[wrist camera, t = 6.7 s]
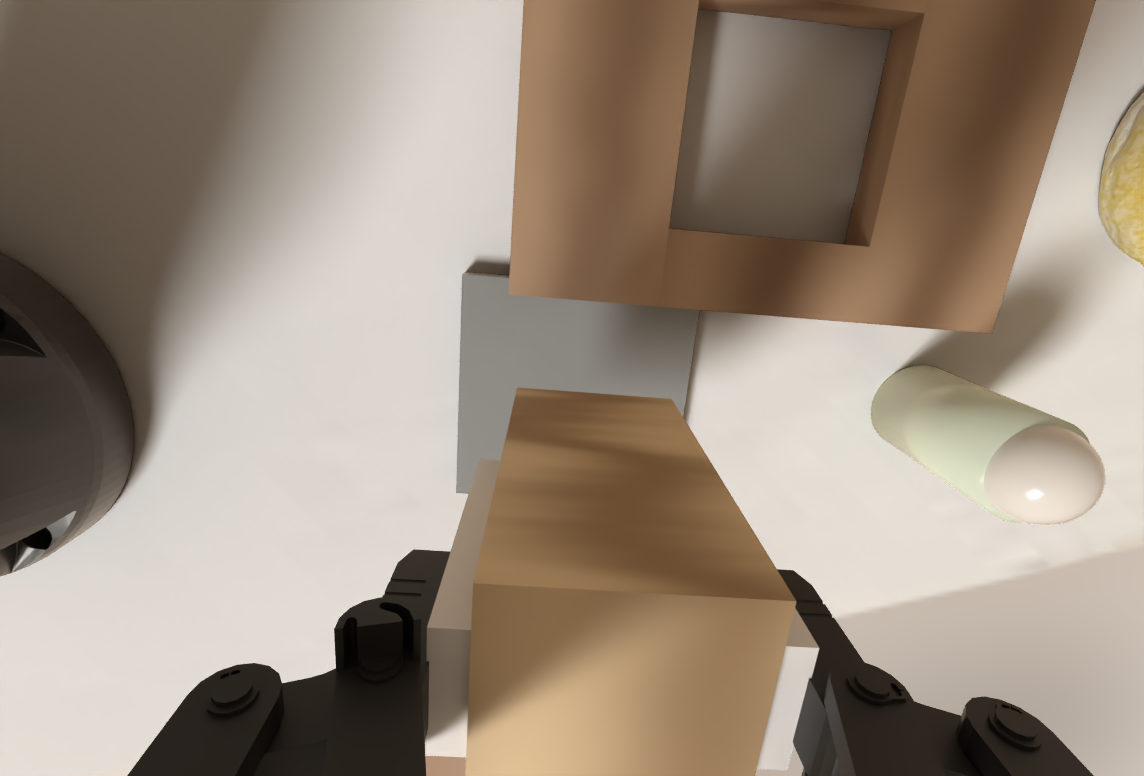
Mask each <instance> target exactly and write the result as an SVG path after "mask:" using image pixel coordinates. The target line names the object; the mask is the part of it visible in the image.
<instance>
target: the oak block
mask: <svg viewBox="0 0 1144 776" xmlns="http://www.w3.org/2000/svg"><path fill="white" fill-rule="evenodd" d="M796 602H797V601H796V600H795V598H794V596H793V595H792V593H791V592H790V590H789V588H788V587H787V585H786V583H785V582H784V580H783V579H782V577H781V575H780V574H779V572H778V571H777V569H776V567H775V566H774V564H773V562H772V561H771V559H770V558H769V556H768V554H767V553H766V551H765V549H764V548H763V546H762V545H761V543H760V541H759V540H758V538H757V536H756V535H755V533H754V532H753V530H752V528H751V527H750V525H749V524H748V522H747V520H746V519H745V517H744V515H743V514H742V512H741V511H740V509H739V507H738V506H737V504H736V502H735V501H734V499H733V498H732V496H731V494H730V493H729V491H728V489H727V488H726V486H725V485H724V483H723V481H722V480H721V478H720V477H719V475H718V473H717V472H716V470H715V468H714V467H713V465H712V464H711V462H710V460H709V459H708V457H707V455H706V454H705V452H704V451H703V449H702V447H701V446H700V444H699V443H698V441H697V439H696V438H695V436H694V434H693V433H692V431H691V430H690V428H689V426H688V425H687V423H686V421H685V420H684V418H683V417H682V415H681V413H680V412H679V410H678V408H677V407H676V405H675V404H674V402H673V400H672V399H667V398H653V397H640V396H626V395H613V394H599V393H586V392H572V391H558V390H545V389H531V388H518V387H517V390H516V395H515V399H514V403H513V408H512V412H511V417H510V421H509V426H508V430H507V434H506V439H505V443H504V448H503V452H502V457H501V461H500V466H499V470H498V474H497V479H496V483H495V488H494V492H493V497H492V501H491V506H490V510H489V514H488V519H487V523H486V528H485V532H484V537H483V541H482V546H481V550H480V554H479V559H478V563H477V568H476V572H475V577H474V581H473V596H472V621H471V646H470V671H469V696H468V721H467V746H466V772H465V776H755V773H756V769H757V764H758V760H759V756H760V752H761V748H762V744H763V739H764V735H765V731H766V727H767V723H768V718H769V714H770V710H771V706H772V702H773V698H774V693H775V689H776V685H777V681H778V677H779V673H780V668H781V664H782V660H783V656H784V652H785V647H786V643H787V639H788V635H789V631H790V627H791V622H792V618H793V614H794V610H795V606H796Z"/></svg>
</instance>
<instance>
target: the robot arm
mask: <svg viewBox="0 0 1144 776" xmlns="http://www.w3.org/2000/svg"><path fill="white" fill-rule="evenodd" d="M133 446H134V428H133V419H132V413H131V408H130V403H129V400H128V396H127V392H126V390H125V387H124V384H123V381H122V379H121V376H120V374H119V372H118V370H117V367H116V365H115V364H114V362H113V360H112V358H111V356H110V354H109V353H108V351H107V349H106V348H105V346H104V344H103V343H102V341H101V340H100V339H99V337H98V336H97V334H96V333H95V331H94V330H93V329H92V328H91V326H90V325H89V324H88V323H87V321H86V320H85V319H84V318H83V317H82V316H81V314H80V313H79V312H78V311H77V310H76V309H75V308H74V307H73V306H72V305H71V304H70V303H69V302H68V301H67V300H66V299H65V298H64V297H63V296H62V295H61V294H59V293H58V292H57V291H56V290H55V289H54V288H53V287H51V286H50V285H49V284H48V283H46V282H45V281H44V280H42V279H41V278H40V277H39V276H37V275H36V274H34V273H33V272H31V271H30V270H28V269H27V268H26V267H24V266H22V265H21V264H19V263H17V262H16V261H14V260H12V259H11V258H9V257H7V256H5V255H3V254H1V253H0V576H3V575H6V574H10V573H13V572H16V571H18V570H20V569H23V568H25V567H28V566H30V565H32V564H34V563H36V562H38V561H40V560H42V559H43V558H45V557H47V556H49V555H50V554H52V553H53V552H55V551H56V550H58V549H59V548H61V547H62V546H64V545H65V544H67V543H68V542H70V541H71V540H73V539H74V538H76V537H77V536H78V535H80V534H81V533H83V532H84V531H86V530H87V529H89V528H90V527H91V526H92V525H94V524H95V523H96V522H97V521H98V520H99V519H100V518H102V517H103V516H104V515H105V513H106V512H107V511H108V510H109V509H110V508H111V506H112V505H113V504H114V502H115V501H116V499H117V498H118V496H119V494H120V492H121V491H122V488H123V486H124V484H125V482H126V479H127V476H128V473H129V470H130V466H131V462H132V455H133ZM499 466H500V461H499V460H485V459H479V462H478V466H477V469H476V472H475V475H474V478H473V482H472V485H471V488H470V491H469V494H468V498H467V501H466V504H465V507H464V510H463V514H462V517H461V520H460V523H459V526H458V530H457V533H456V536H455V539H454V542H453V546H452V549H451V552H447V551H430V550H412V551H411V552H410V553H409V554H408V555H407V556H405V557H404V558H403V559H402V560H401V561H399V562H398V564H397V566H396V568H395V571H394V573H393V575H392V577H391V581H390V582H389V584H388V586H387V588H386V590H385V595H383V597H382V598H376V599H372V600H367V601H364V602H362V603H360V604H358V605H356V606H353V607H351V608H350V609H349V610H348V611H346V612H345V613H344V614H343V615H342V616H341V617H340V618H339V620H338V622H337V624H336V627H335V629H334V633H335V655H336V669H334V670H332V671H329V672H327V673H325V674H322V675H318V676H315V677H311V678H307V679H302V680H297V681H292V682H287V683H282V682H281V679H280V676H279V673H278V672H276V671H275V670H274V669H272V668H271V667H270V666H266V665H261V664H256V663H251V664H241V665H235V666H232V667H229V668H227V669H224V670H221V671H218V672H216V673H215V674H213V675H211V676H210V677H208V678H206V679H205V680H203V681H201V682H200V683H199V684H198V685H197V686H196V687H195V688H194V689H193V690H192V691H191V692H190V693H189V694H188V695H187V696H186V698H185V699H184V700H183V702H182V703H181V704H180V706H179V707H178V708H177V710H176V711H175V713H174V714H173V715H172V717H171V718H170V719H169V721H168V722H167V723H166V725H165V726H164V727H163V729H162V730H161V731H160V733H159V734H158V735H157V737H156V738H155V739H154V741H153V742H152V743H151V745H150V746H149V747H148V749H147V750H146V751H145V753H144V754H143V755H142V757H141V758H140V759H139V761H138V762H137V763H136V765H135V766H134V768H133V769H132V770H131V772H130V773H129V774H128V776H426V763H425V756H450V757H451V756H452V757H466V746H467V721H468V696H469V671H470V646H471V621H472V596H473V581H474V577H475V572H476V568H477V563H478V559H479V554H480V550H481V546H482V541H483V537H484V532H485V528H486V523H487V519H488V514H489V510H490V506H491V501H492V497H493V492H494V488H495V483H496V479H497V474H498V470H499ZM777 571H778V572H779V574H780V575H781V577H782V579H783V580H784V582H785V583H786V585H787V587H788V588H789V590H790V592H791V593H792V595H793V596H794V598H795V600H796V601H797V602H796V606H795V610H794V614H793V618H792V622H791V627H790V631H789V635H788V639H787V643H786V647H785V652H784V656H783V660H782V664H781V668H780V673H779V677H778V681H777V685H776V689H775V693H774V698H773V702H772V706H771V710H770V714H769V718H768V723H767V727H766V731H765V735H764V739H763V744H762V748H761V752H760V756H759V760H758V764H757V769H765V770H766V769H767V770H788V766H789V762H790V759H791V755H792V751H793V747H794V746H795V748H796V751H797V753H798V755H799V757H800V760H801V762H802V764H803V766H804V769H803V772H802V776H1093V775H1092V773H1090V771H1089V770H1088V769H1087V768H1086V767H1085V766H1084V765H1083V764H1082V763H1081V762H1080V761H1079V760H1078V759H1077V757H1076V756H1074V754H1073V753H1072V752H1071V751H1070V750H1069V749H1068V748H1067V747H1066V746H1065V745H1064V744H1063V743H1062V741H1060V739H1059V738H1058V737H1057V736H1056V735H1055V734H1054V733H1053V732H1052V731H1051V730H1050V729H1048V728H1047V727H1046V726H1045V725H1044V724H1043V723H1042V722H1040V721H1039V720H1038V719H1037V718H1035V717H1034V716H1032V715H1030V714H1029V713H1027V712H1026V711H1024V710H1022V709H1021V708H1019V707H1017V706H1015V705H1012V704H1010V703H1007V702H1005V701H1002V700H999V699H994V698H989V697H977V698H972V699H971V700H970V701H969V702H968V703H967V704H966V705H965V708H964V710H963V713H962V716H960V715H956V714H953V713H949V712H946V711H943V710H939V709H936V708H932V707H929V706H926V705H922V704H920V703H917V702H914V701H913V699H912V697H911V696H910V694H909V693H908V691H907V690H906V688H905V687H904V686H903V685H902V684H901V683H900V682H899V681H897V680H896V679H895V678H894V677H893V676H892V675H890V674H888V673H887V672H885V671H883V670H881V669H880V668H878V667H875V666H873V665H870V664H867V663H864V661H863V660H862V658H861V657H860V655H859V654H858V652H857V651H856V649H855V648H854V646H853V645H852V644H851V642H850V641H849V639H848V638H847V636H846V635H845V634H844V632H843V630H842V629H841V627H840V626H839V625H838V623H837V622H836V620H835V619H834V618H832V614H831V613H830V611H829V610H828V608H827V607H826V605H825V604H823V601H822V600H821V598H820V597H819V595H818V594H817V592H816V591H815V589H814V588H813V586H812V585H811V584H810V583H808V582H807V581H806V580H805V579H803V578H802V577H801V576H800V575H798V574H797V573H796V572H795V571H793V570H777ZM425 739H426V748H425Z"/></svg>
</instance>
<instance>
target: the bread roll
mask: <svg viewBox="0 0 1144 776" xmlns="http://www.w3.org/2000/svg"><path fill="white" fill-rule="evenodd" d="M1098 209H1099V215H1100V218H1101V220H1102V223H1103V226H1104V228H1105V230H1106V232H1107V233H1108V235H1109V237H1110V238H1111V240H1112V241H1113V243H1114V244H1115V245H1116V246H1117V247H1118V248H1119V249H1120V250H1122V251H1123V252H1124V253H1125V254H1127V255H1129V256H1130V257H1131V258H1133V259H1135V260H1137V261H1138V262H1140V263H1141V264H1142V265H1143V266H1144V92H1143V93H1142V94H1141V95H1140V97H1139V98H1138V99H1137V100H1136V101H1135V102H1134V103H1133V104H1132V105H1131V107H1130V108H1129V110H1128V111H1127V113H1126V114H1125V116H1124V118H1123V119H1122V121H1121V122H1120V124H1119V126H1118V128H1117V129H1116V131H1115V133H1114V135H1113V137H1112V139H1111V141H1110V143H1109V146H1108V148H1107V151H1106V154H1105V161H1104V165H1103V170H1102V175H1101V183H1100V192H1099V204H1098Z"/></svg>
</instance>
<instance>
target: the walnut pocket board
mask: <svg viewBox="0 0 1144 776" xmlns="http://www.w3.org/2000/svg"><path fill="white" fill-rule="evenodd" d="M1095 1H1096V0H524V6H523V25H522V45H521V64H520V83H519V102H518V121H517V140H516V160H515V179H514V198H513V217H512V236H511V256H510V275H509V294H508V295H521V296H533V297H545V298H558V299H570V300H583V301H595V302H607V303H620V304H632V305H645V306H657V307H669V308H682V309H694V310H706V311H719V312H731V313H744V314H756V315H768V316H781V317H793V318H806V319H818V320H830V321H843V322H855V323H867V324H880V325H892V326H905V327H917V328H929V329H942V330H954V331H966V332H979V333H991V334H992V331H993V328H994V325H995V322H996V319H997V315H998V312H999V309H1000V306H1001V302H1002V299H1003V296H1004V293H1005V290H1006V286H1007V283H1008V280H1009V277H1010V274H1011V270H1012V267H1013V264H1014V261H1015V258H1016V254H1017V251H1018V248H1019V245H1020V242H1021V238H1022V235H1023V232H1024V229H1025V226H1026V222H1027V219H1028V216H1029V213H1030V210H1031V206H1032V203H1033V200H1034V197H1035V193H1036V190H1037V187H1038V184H1039V181H1040V177H1041V174H1042V171H1043V168H1044V165H1045V161H1046V158H1047V155H1048V152H1049V149H1050V145H1051V142H1052V139H1053V136H1054V133H1055V129H1056V126H1057V123H1058V120H1059V117H1060V113H1061V110H1062V107H1063V104H1064V101H1065V97H1066V94H1067V91H1068V88H1069V84H1070V81H1071V78H1072V75H1073V72H1074V68H1075V65H1076V62H1077V59H1078V56H1079V52H1080V49H1081V46H1082V43H1083V40H1084V36H1085V33H1086V30H1087V27H1088V24H1089V20H1090V17H1091V14H1092V11H1093V8H1094V4H1095ZM698 9H705V10H714V11H723V12H732V13H741V14H750V15H759V16H768V17H776V18H785V19H794V20H803V21H812V22H821V23H830V24H839V25H848V26H857V27H866V28H874V29H883V30H892V33H891V37H890V42H889V46H888V51H887V55H886V60H885V64H884V69H883V73H882V78H881V82H880V87H879V91H878V96H877V100H876V105H875V109H874V114H873V118H872V123H871V127H870V132H869V136H868V141H867V145H866V150H865V154H864V159H863V163H862V168H861V172H860V177H859V181H858V186H857V190H856V195H855V199H854V204H853V208H852V213H851V217H850V222H849V226H848V231H847V235H846V240H845V244H839V243H827V242H816V241H805V240H794V239H782V238H771V237H760V236H749V235H737V234H726V233H715V232H704V231H693V230H681V229H670V228H669V224H670V217H671V209H672V202H673V194H674V186H675V179H676V171H677V164H678V156H679V149H680V141H681V133H682V126H683V118H684V111H685V103H686V95H687V88H688V80H689V73H690V65H691V57H692V50H693V42H694V35H695V27H696V19H697V12H698Z"/></svg>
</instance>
